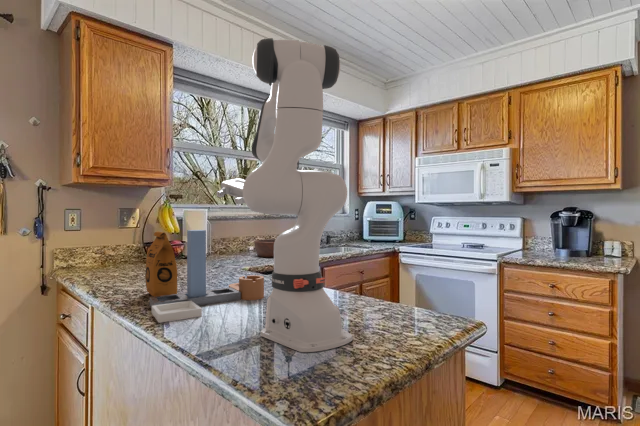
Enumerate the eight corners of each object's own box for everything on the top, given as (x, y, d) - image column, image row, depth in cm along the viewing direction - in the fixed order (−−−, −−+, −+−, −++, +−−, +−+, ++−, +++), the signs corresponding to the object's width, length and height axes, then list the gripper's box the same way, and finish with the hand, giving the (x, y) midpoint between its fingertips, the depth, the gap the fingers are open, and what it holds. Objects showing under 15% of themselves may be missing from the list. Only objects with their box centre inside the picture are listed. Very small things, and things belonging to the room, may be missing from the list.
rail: (240, 299, 119) (240, 292, 119) (154, 311, 105) (154, 303, 105) (230, 294, 127) (230, 287, 127) (149, 305, 112) (149, 297, 112)
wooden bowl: (279, 253, 259) (279, 238, 259) (299, 256, 239) (299, 240, 239) (247, 255, 244) (247, 240, 244) (266, 259, 224) (266, 242, 224)
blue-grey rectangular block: (205, 302, 115) (205, 230, 115) (190, 304, 112) (190, 230, 112) (201, 300, 119) (201, 229, 119) (187, 301, 116) (187, 230, 116)
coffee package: (148, 300, 119) (148, 232, 119) (143, 293, 129) (143, 231, 129) (180, 296, 124) (180, 232, 124) (173, 289, 135) (173, 230, 135)
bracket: (268, 298, 122) (268, 277, 122) (244, 302, 117) (244, 280, 117) (246, 289, 137) (246, 270, 137) (225, 292, 132) (225, 272, 132)
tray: (201, 316, 100) (201, 308, 100) (158, 322, 94) (158, 314, 94) (191, 307, 109) (191, 300, 109) (151, 313, 103) (151, 305, 103)
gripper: (239, 171, 130) (206, 181, 120) (280, 184, 118) (246, 196, 108) (241, 188, 132) (208, 199, 123) (280, 202, 120) (248, 215, 111)
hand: (227, 198), depth 115 cm, fingers open, 8 cm apart
